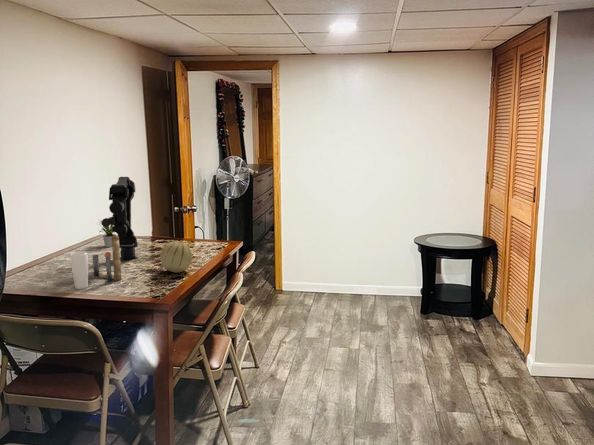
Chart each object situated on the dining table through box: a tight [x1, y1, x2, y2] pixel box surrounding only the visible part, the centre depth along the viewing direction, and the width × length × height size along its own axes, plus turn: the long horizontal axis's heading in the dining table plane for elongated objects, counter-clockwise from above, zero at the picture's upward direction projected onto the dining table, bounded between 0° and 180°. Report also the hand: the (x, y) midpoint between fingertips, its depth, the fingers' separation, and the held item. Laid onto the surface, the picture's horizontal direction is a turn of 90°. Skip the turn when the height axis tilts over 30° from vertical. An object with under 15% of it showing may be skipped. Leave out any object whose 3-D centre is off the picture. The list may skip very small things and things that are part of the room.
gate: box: [99, 234, 122, 281], centre depth 233 cm, size 12×3×20 cm, turn 68°
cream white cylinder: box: [69, 251, 89, 290], centre depth 221 cm, size 7×7×15 cm
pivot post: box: [91, 254, 101, 279], centre depth 237 cm, size 4×4×10 cm
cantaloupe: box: [159, 239, 193, 273], centre depth 244 cm, size 15×15×15 cm
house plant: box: [97, 219, 116, 248], centre depth 292 cm, size 14×14×16 cm
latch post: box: [104, 251, 116, 285], centre depth 228 cm, size 4×4×14 cm
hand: (121, 243), depth 249 cm, fingers closed
